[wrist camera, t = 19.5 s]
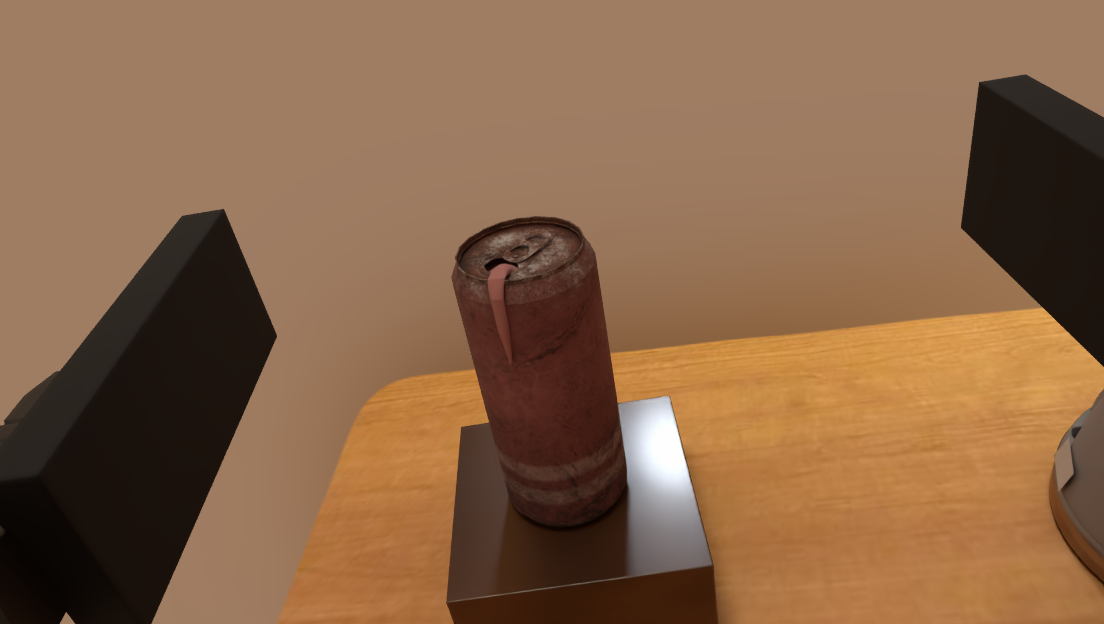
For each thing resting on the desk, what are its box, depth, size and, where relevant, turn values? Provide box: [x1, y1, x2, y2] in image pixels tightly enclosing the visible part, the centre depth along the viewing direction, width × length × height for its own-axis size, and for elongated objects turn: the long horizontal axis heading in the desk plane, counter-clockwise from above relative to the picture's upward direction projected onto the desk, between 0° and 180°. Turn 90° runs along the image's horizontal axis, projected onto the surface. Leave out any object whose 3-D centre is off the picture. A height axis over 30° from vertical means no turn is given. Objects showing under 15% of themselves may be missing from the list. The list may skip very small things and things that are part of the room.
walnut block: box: [446, 396, 718, 624], centre depth 42 cm, size 12×12×5 cm
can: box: [452, 216, 627, 527], centre depth 37 cm, size 6×6×14 cm
